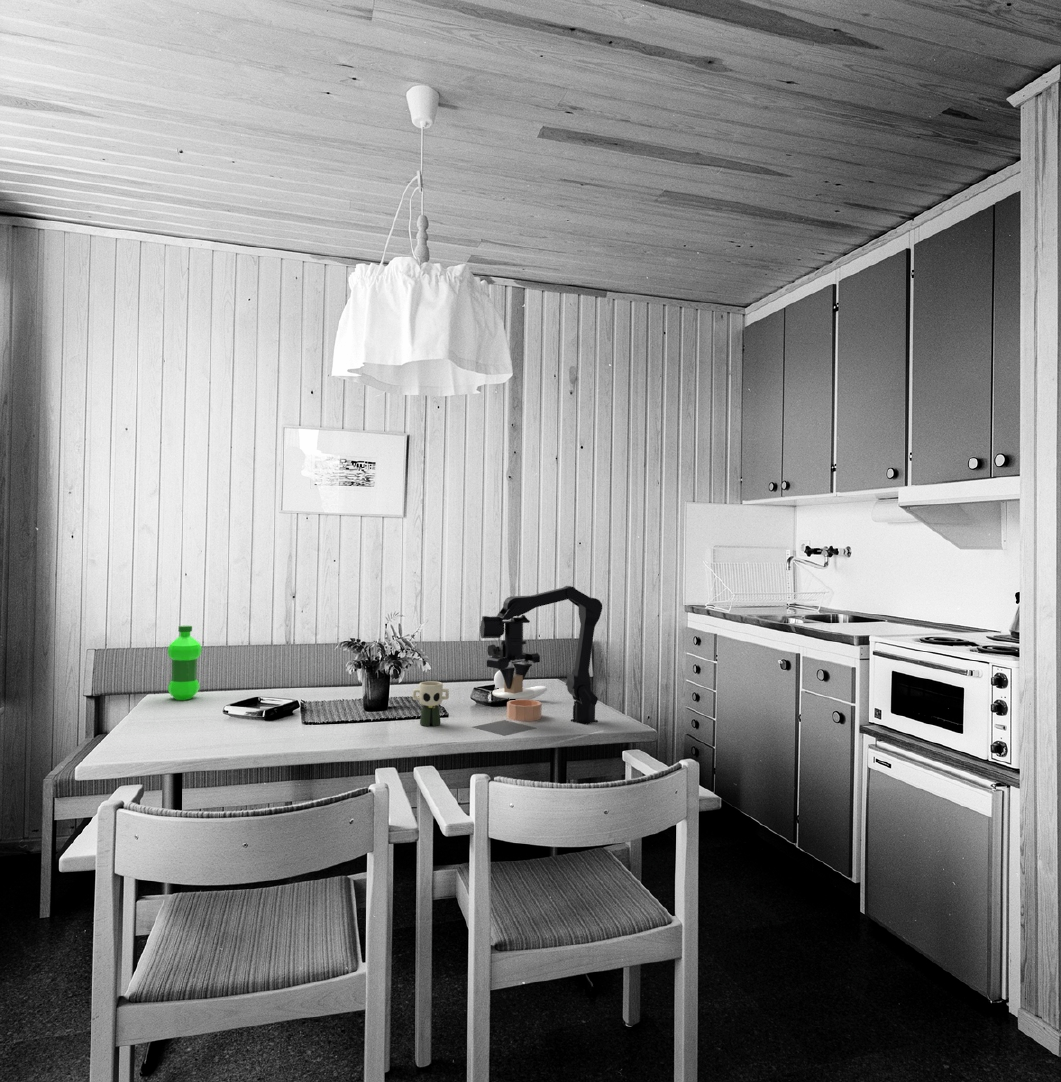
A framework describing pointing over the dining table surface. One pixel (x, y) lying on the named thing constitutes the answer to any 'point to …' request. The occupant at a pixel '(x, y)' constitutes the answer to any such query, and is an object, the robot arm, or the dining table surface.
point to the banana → (537, 689)
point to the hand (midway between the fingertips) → (513, 687)
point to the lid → (514, 689)
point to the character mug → (430, 701)
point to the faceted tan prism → (524, 710)
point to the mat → (504, 727)
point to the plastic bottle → (184, 665)
